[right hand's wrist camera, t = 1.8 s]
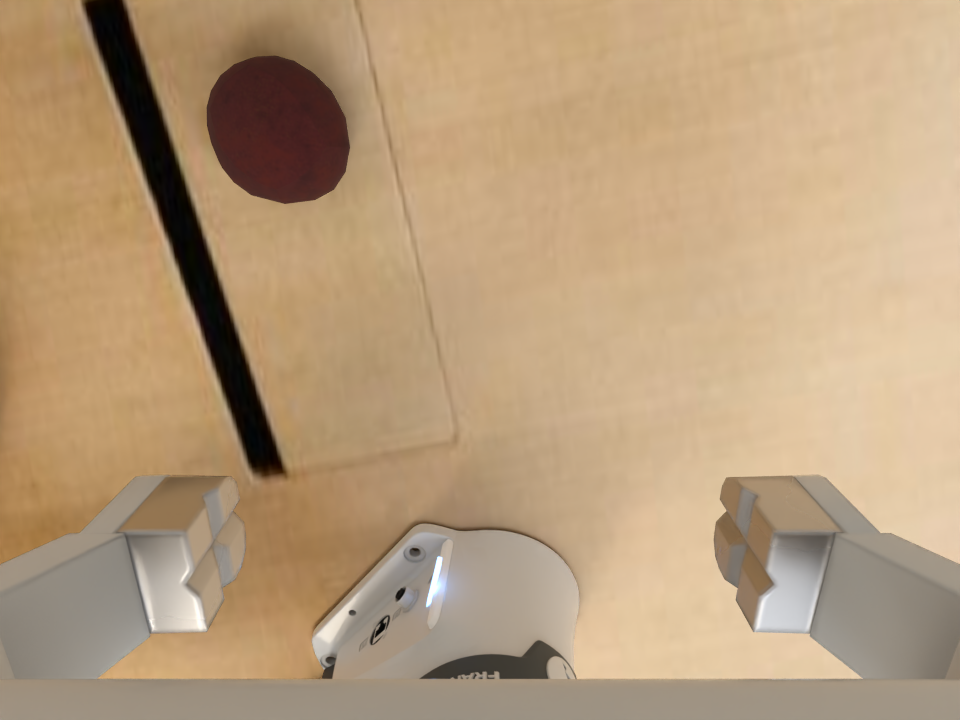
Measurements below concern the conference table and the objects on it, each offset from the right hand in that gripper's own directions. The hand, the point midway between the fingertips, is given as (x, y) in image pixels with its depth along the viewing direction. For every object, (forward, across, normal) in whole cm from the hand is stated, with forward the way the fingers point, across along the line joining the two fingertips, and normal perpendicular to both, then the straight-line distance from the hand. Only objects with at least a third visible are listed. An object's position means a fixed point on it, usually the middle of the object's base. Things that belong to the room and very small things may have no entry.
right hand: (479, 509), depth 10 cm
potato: (+30, +11, -6) cm, 33 cm away
